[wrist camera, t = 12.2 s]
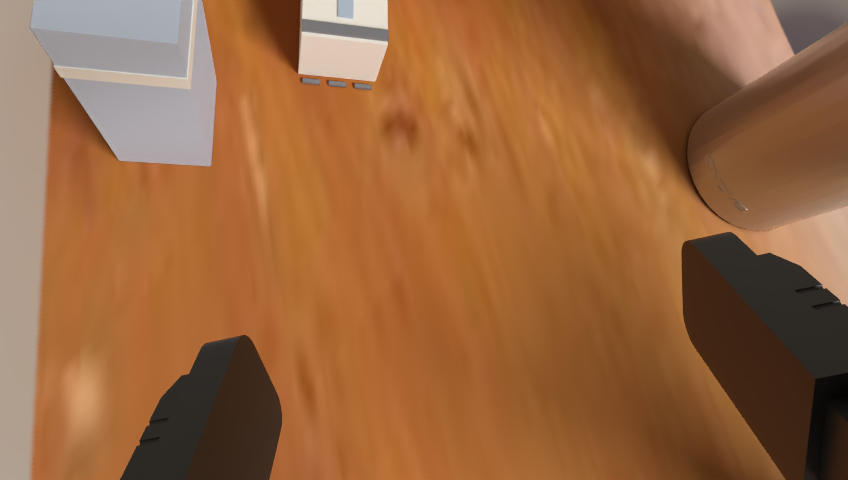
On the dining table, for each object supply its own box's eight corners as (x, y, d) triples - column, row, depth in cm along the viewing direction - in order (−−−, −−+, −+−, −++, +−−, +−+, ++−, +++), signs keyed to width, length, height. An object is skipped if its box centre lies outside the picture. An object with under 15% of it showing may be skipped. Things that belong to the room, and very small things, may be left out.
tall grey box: (211, 167, 32) (178, 45, 20) (117, 161, 31) (28, 29, 19) (217, 80, 33) (189, -80, 22) (127, 72, 32) (47, -102, 20)
